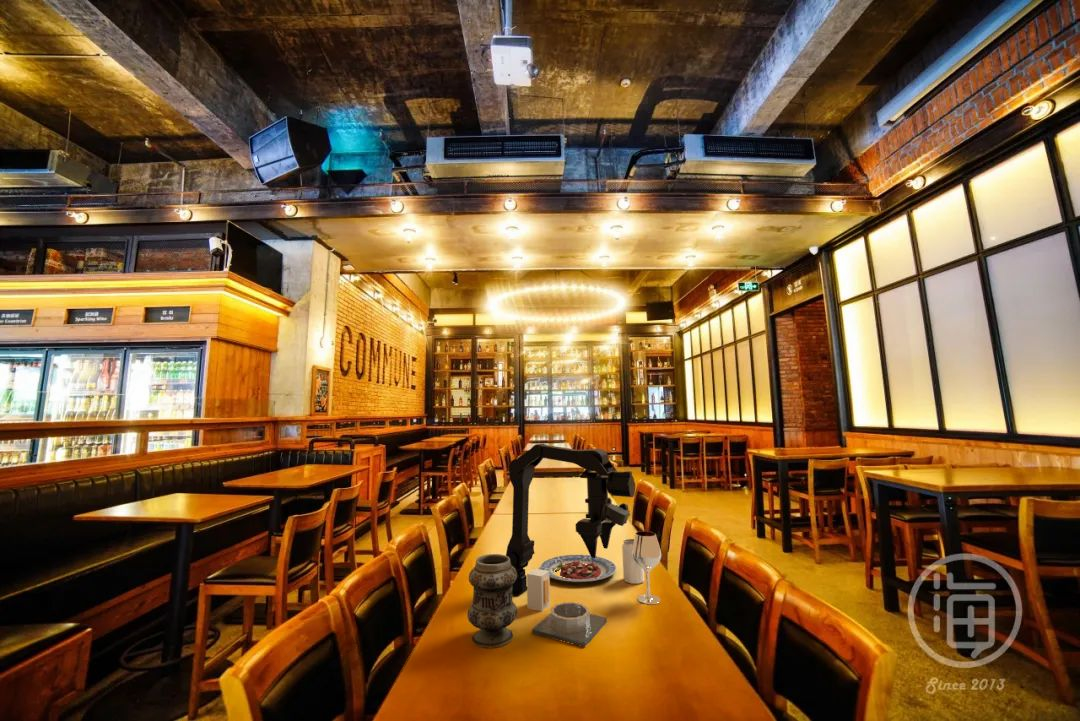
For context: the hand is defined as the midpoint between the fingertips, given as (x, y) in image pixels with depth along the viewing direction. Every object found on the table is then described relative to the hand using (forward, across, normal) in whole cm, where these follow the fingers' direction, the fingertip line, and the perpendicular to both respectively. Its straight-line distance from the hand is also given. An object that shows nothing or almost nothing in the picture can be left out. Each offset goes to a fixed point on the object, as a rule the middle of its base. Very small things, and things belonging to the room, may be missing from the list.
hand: (599, 552), depth 118 cm
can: (+15, +24, -2) cm, 28 cm away
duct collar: (+15, -13, +3) cm, 20 cm away
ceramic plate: (+15, +23, +17) cm, 33 cm away
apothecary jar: (+15, -26, +18) cm, 35 cm away
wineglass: (+15, +12, -10) cm, 21 cm away
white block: (+15, -6, +16) cm, 23 cm away
